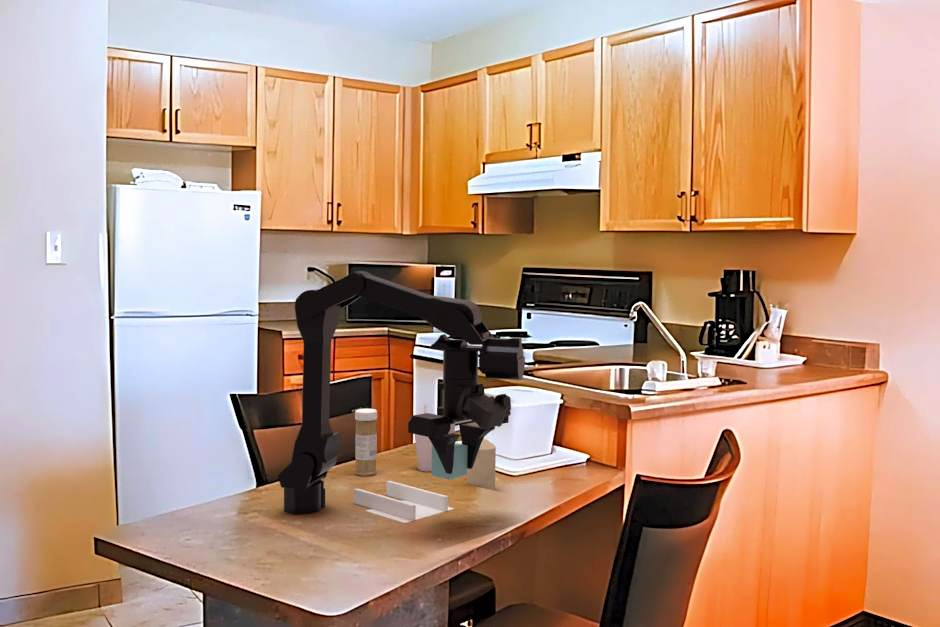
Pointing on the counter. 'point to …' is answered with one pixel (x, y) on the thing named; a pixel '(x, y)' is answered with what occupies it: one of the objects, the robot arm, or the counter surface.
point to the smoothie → (424, 450)
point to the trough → (402, 502)
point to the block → (458, 464)
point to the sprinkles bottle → (366, 442)
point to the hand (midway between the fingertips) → (459, 470)
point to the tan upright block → (483, 467)
